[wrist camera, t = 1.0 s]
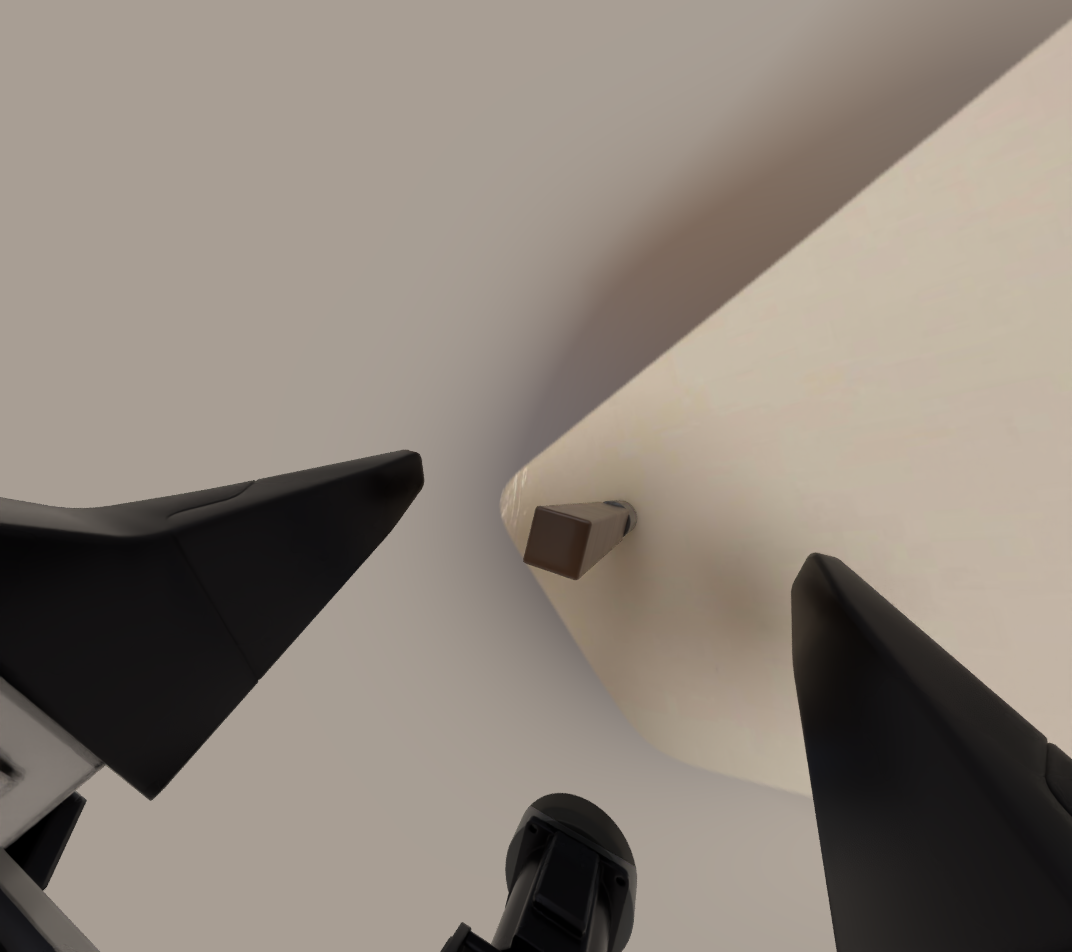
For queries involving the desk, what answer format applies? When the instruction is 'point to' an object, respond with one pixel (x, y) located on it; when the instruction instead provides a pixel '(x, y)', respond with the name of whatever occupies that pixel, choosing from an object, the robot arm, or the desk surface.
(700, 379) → the desk surface
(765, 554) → the desk surface
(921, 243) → the desk surface
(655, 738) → the desk surface
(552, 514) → the brown lever handle
